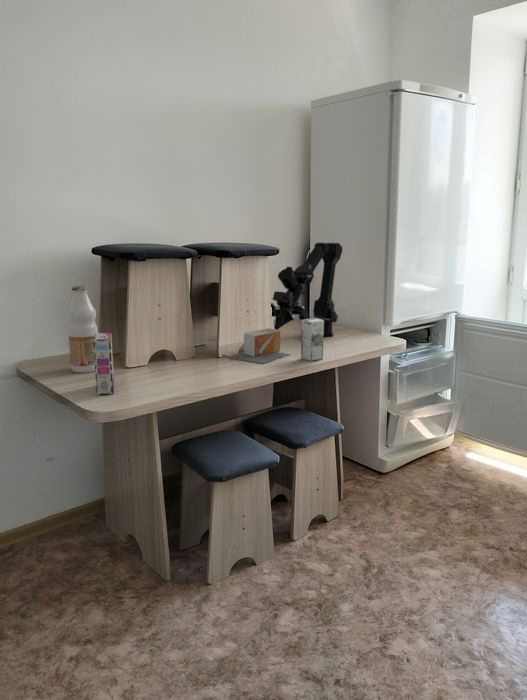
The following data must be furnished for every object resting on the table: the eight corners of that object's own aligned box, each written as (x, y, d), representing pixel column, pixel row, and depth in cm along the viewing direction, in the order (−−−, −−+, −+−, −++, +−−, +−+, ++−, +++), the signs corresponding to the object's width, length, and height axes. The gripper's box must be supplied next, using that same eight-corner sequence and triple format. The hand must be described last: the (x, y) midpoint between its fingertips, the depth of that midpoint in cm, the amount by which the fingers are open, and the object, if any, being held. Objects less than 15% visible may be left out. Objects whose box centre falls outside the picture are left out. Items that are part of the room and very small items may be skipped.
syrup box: (313, 356, 209) (313, 317, 206) (323, 359, 204) (324, 319, 201) (300, 358, 206) (301, 318, 203) (311, 361, 201) (311, 321, 198)
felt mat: (255, 349, 221) (255, 348, 220) (290, 354, 211) (290, 354, 211) (227, 357, 207) (227, 357, 207) (263, 364, 198) (263, 363, 198)
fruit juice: (67, 373, 188) (60, 288, 182) (76, 366, 197) (70, 285, 191) (95, 373, 188) (89, 288, 181) (103, 366, 197) (98, 285, 191)
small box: (280, 351, 215) (254, 357, 207) (269, 348, 220) (243, 354, 212) (280, 330, 213) (254, 335, 205) (269, 327, 218) (243, 332, 209)
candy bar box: (114, 394, 165) (110, 339, 161) (96, 396, 164) (92, 340, 160) (115, 384, 175) (111, 331, 172) (98, 385, 174) (94, 332, 170)
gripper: (264, 281, 221) (247, 313, 215) (304, 284, 211) (287, 318, 204) (275, 299, 229) (259, 330, 223) (315, 303, 219) (299, 336, 212)
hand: (275, 328), depth 216 cm, fingers closed
